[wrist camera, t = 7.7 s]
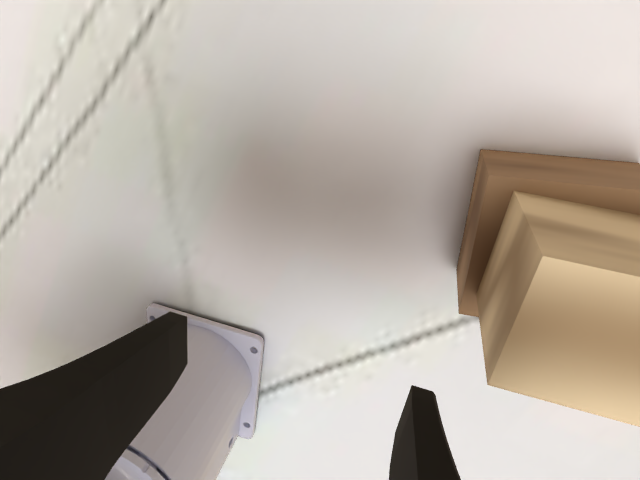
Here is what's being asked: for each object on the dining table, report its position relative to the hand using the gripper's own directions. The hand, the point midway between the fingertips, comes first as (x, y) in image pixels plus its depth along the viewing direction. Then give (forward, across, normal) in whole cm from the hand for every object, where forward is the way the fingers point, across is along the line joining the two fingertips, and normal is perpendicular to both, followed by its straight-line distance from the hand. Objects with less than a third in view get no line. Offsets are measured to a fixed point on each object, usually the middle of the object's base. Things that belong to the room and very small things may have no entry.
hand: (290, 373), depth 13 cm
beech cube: (+6, -8, -3) cm, 11 cm away
